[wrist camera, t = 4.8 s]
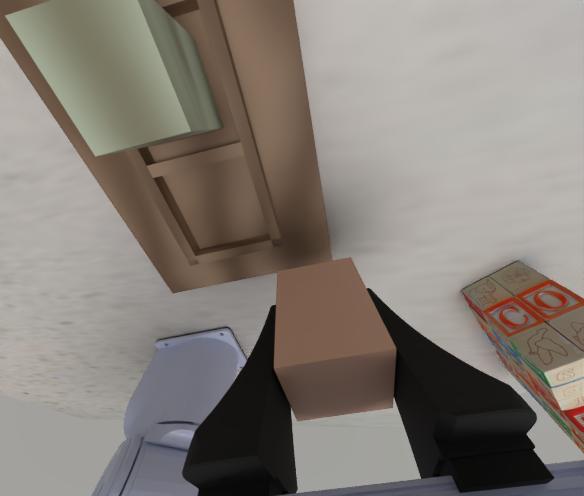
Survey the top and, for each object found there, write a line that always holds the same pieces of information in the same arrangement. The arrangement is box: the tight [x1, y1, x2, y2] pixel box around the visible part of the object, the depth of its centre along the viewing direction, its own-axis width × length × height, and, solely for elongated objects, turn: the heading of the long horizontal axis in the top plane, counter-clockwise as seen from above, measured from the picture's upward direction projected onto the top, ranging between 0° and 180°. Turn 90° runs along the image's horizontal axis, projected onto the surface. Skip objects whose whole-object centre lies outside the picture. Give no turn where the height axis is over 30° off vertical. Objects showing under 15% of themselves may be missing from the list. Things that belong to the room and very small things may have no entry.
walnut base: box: [0, 0, 332, 293], centre depth 13 cm, size 16×22×7 cm
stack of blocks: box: [461, 261, 584, 453], centre depth 22 cm, size 21×6×12 cm, turn 41°
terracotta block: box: [274, 257, 396, 421], centre depth 12 cm, size 4×4×6 cm
